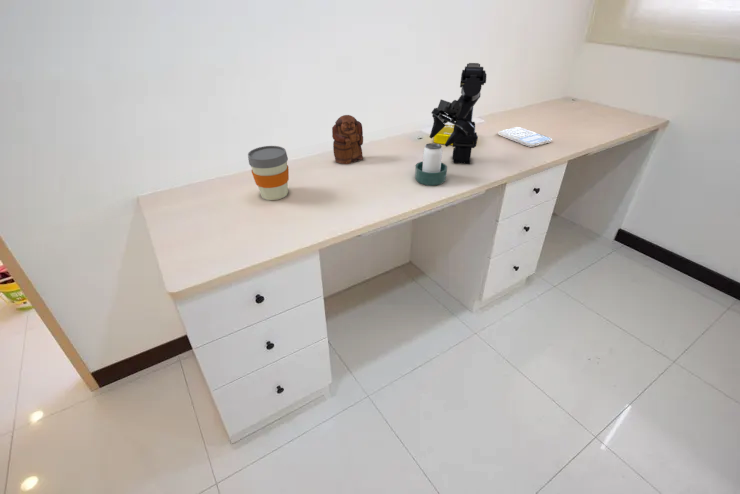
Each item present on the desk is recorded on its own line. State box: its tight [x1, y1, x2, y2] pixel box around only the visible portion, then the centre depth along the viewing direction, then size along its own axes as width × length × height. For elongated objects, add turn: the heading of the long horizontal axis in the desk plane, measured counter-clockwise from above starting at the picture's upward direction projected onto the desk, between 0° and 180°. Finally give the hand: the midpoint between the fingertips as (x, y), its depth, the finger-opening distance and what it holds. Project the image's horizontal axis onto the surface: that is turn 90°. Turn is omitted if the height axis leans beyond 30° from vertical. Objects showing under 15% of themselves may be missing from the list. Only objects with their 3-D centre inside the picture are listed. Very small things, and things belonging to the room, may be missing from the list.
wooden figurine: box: [331, 114, 364, 165], centre depth 147 cm, size 12×6×18 cm, turn 120°
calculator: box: [498, 126, 553, 148], centre depth 169 cm, size 13×20×2 cm, turn 29°
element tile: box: [433, 123, 454, 146], centre depth 168 cm, size 15×15×5 cm
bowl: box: [414, 160, 448, 187], centre depth 135 cm, size 11×11×5 cm
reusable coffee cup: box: [247, 145, 290, 201], centre depth 125 cm, size 12×13×15 cm
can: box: [422, 142, 443, 173], centre depth 133 cm, size 6×6×12 cm
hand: (437, 141), depth 133 cm, fingers open, 9 cm apart
